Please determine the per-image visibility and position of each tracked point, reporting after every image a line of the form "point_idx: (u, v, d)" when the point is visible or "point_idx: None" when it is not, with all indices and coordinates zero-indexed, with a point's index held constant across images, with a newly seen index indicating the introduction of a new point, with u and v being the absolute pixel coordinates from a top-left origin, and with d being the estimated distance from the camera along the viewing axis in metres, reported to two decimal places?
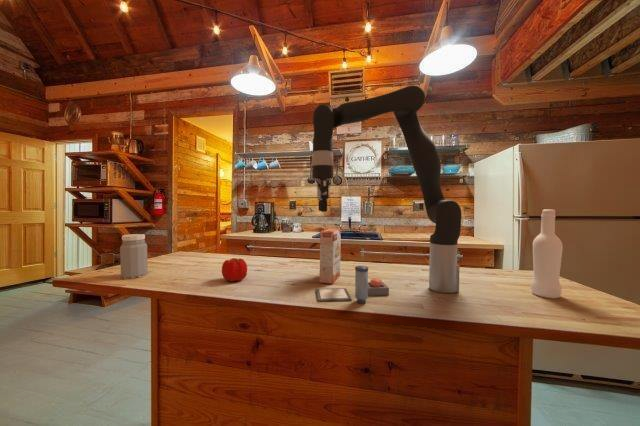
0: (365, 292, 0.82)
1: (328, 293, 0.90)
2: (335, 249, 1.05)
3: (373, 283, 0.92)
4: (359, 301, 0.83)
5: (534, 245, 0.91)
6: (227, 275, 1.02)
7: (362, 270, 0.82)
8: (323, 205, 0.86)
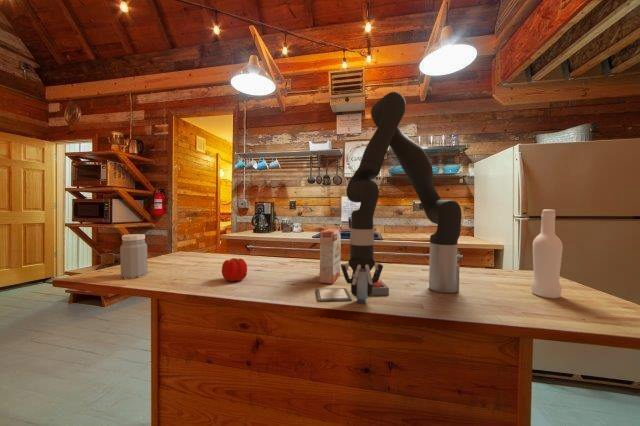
0: (365, 292, 0.82)
1: (328, 293, 0.90)
2: (335, 249, 1.05)
3: (373, 283, 0.92)
4: (359, 301, 0.83)
5: (534, 245, 0.91)
6: (227, 275, 1.02)
7: (362, 270, 0.82)
8: None
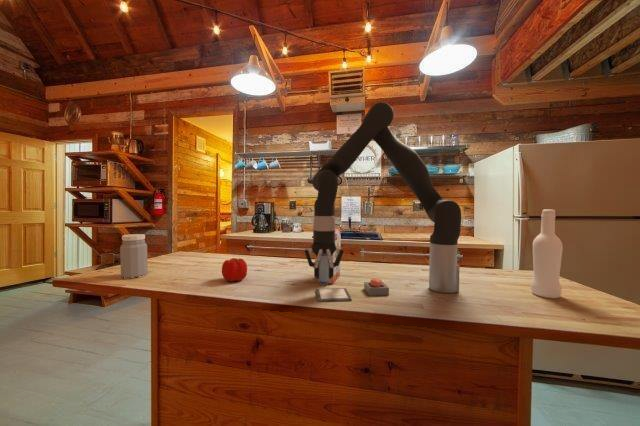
0: (326, 275, 0.88)
1: (328, 293, 0.90)
2: None
3: (373, 283, 0.92)
4: (321, 283, 0.89)
5: (534, 245, 0.91)
6: (227, 275, 1.02)
7: (323, 254, 0.88)
8: None
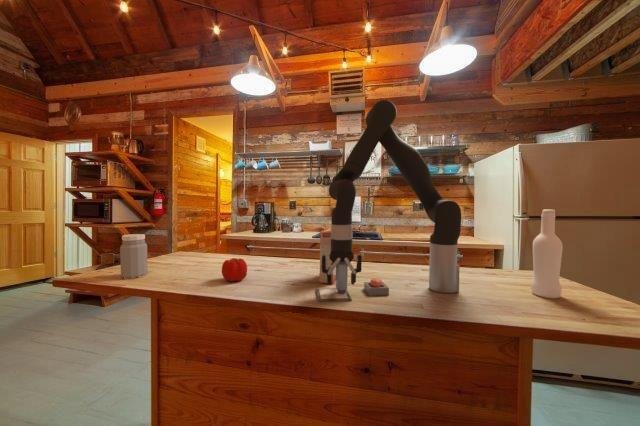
0: (344, 283, 0.89)
1: (328, 293, 0.90)
2: None
3: (373, 283, 0.92)
4: (339, 292, 0.89)
5: (534, 245, 0.91)
6: (227, 275, 1.02)
7: (342, 263, 0.88)
8: (355, 278, 0.91)
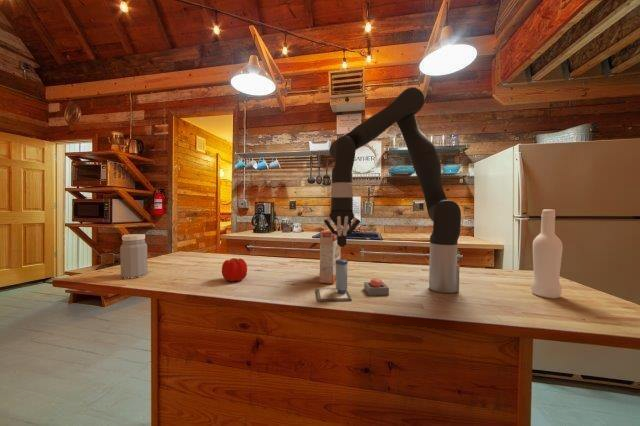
0: (344, 283, 0.89)
1: (328, 293, 0.90)
2: (335, 249, 1.05)
3: (373, 283, 0.92)
4: (339, 292, 0.89)
5: (534, 245, 0.91)
6: (227, 275, 1.02)
7: (341, 263, 0.88)
8: None
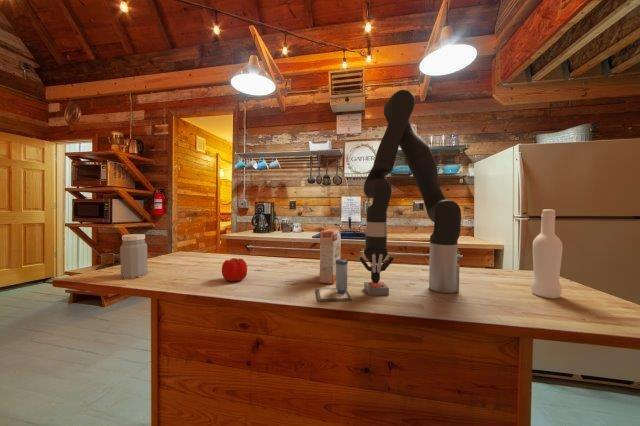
0: (344, 283, 0.89)
1: (328, 293, 0.90)
2: (335, 249, 1.05)
3: (373, 285, 0.92)
4: (339, 292, 0.89)
5: (534, 245, 0.91)
6: (227, 275, 1.02)
7: (342, 263, 0.88)
8: None
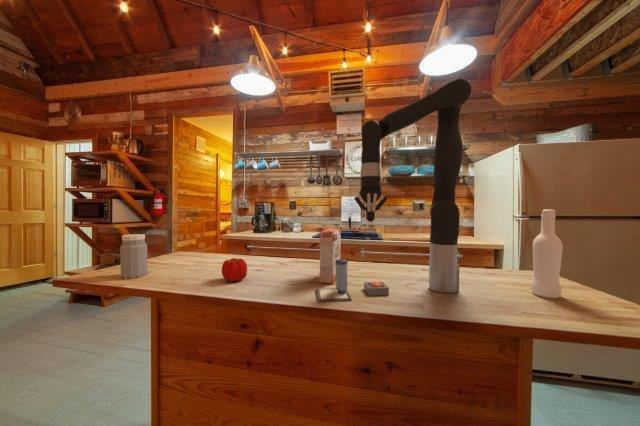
0: (344, 283, 0.89)
1: (328, 293, 0.90)
2: (335, 249, 1.05)
3: None
4: (339, 292, 0.89)
5: (534, 245, 0.91)
6: (227, 275, 1.02)
7: (341, 263, 0.88)
8: None
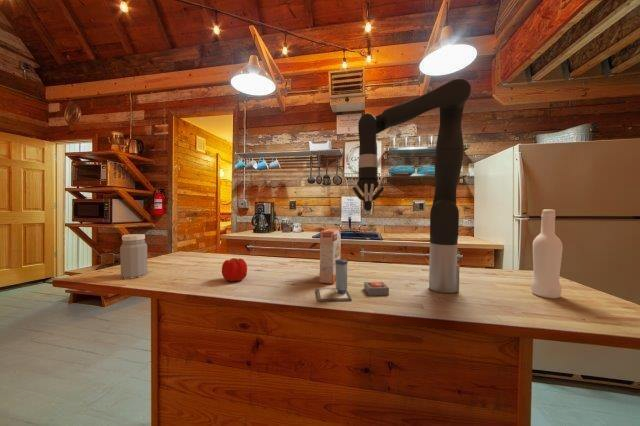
0: (344, 283, 0.89)
1: (328, 293, 0.90)
2: (335, 249, 1.05)
3: None
4: (339, 292, 0.89)
5: (534, 245, 0.91)
6: (227, 275, 1.02)
7: (341, 263, 0.88)
8: None
